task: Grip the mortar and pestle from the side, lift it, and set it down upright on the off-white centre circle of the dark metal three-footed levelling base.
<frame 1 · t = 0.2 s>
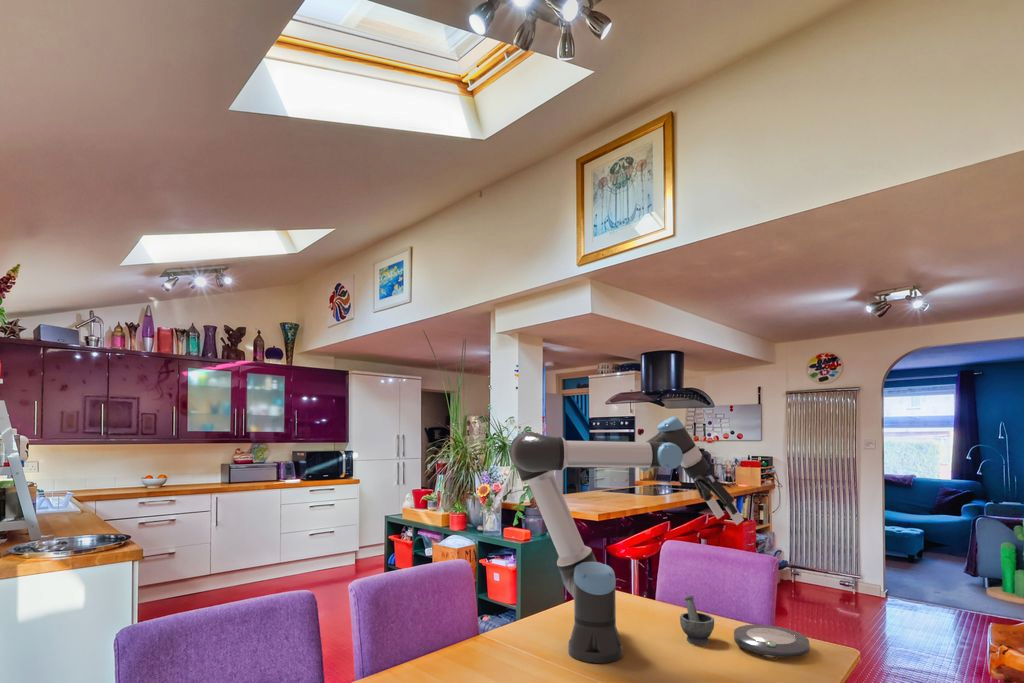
hand: (730, 519, 191), 34 cm above the table, tool tilted 35°, fingers open, 13 cm apart
mortar and pestle: (696, 641, 179), on the table
levelling base: (771, 649, 173), on the table
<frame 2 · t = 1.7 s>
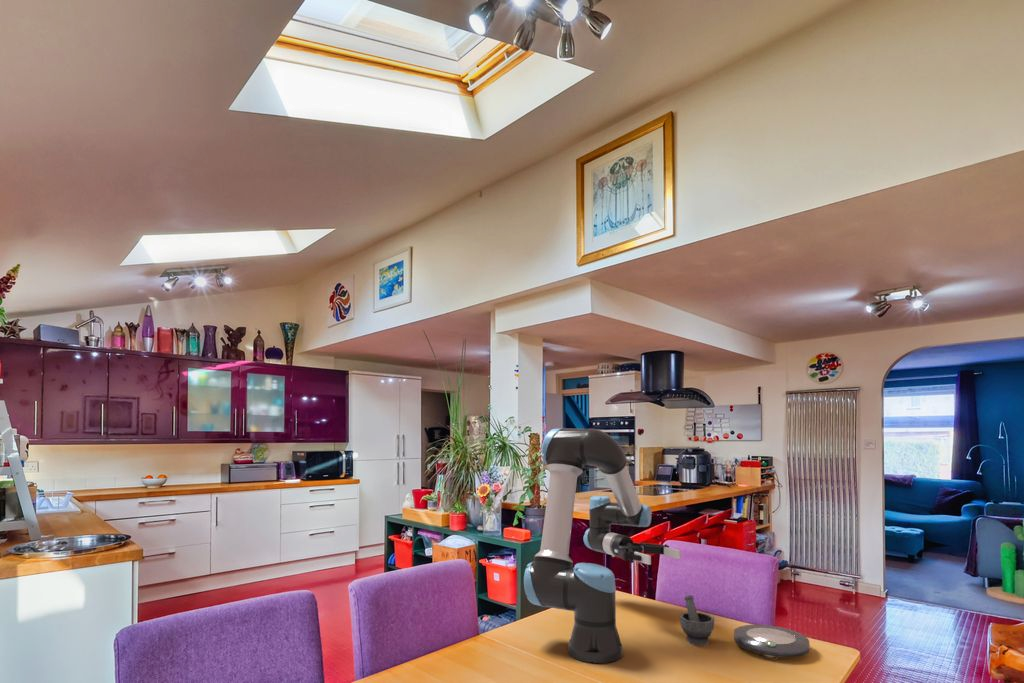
hand: (665, 557, 192), 22 cm above the table, tool horizontal, fingers open, 13 cm apart
nothing on the table moved.
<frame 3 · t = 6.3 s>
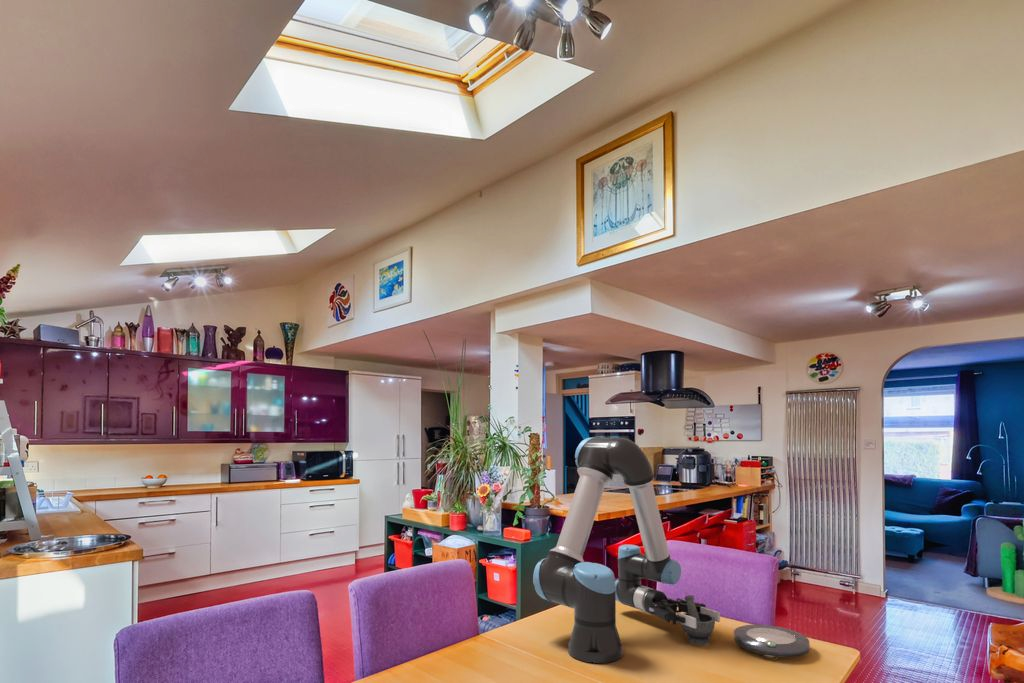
hand: (707, 620, 177), 7 cm above the table, tool horizontal, fingers closed on mortar and pestle, 10 cm apart
mortar and pestle: (697, 641, 179), on the table, touching gripper
when the fingers open (12 cm above the table, at t = 11.4 s): mortar and pestle drops 1 cm, resting on levelling base.
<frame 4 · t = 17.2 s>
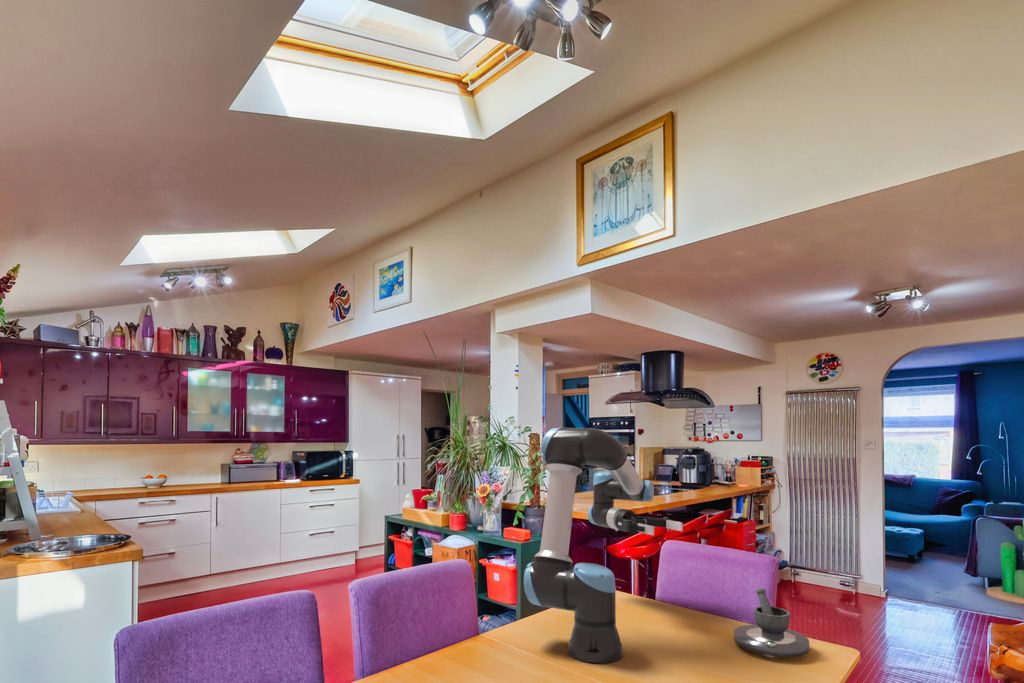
hand: (667, 528, 197), 30 cm above the table, tool horizontal, fingers open, 13 cm apart
mortar and pestle: (771, 636, 174), point 4 cm above the table, touching levelling base
at the end: mortar and pestle inside the target area on the levelling base (0.3 cm from its centre), point 3.5 cm above the levelling base's base; mortar and pestle tilted 0°; the gripper is holding nothing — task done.
